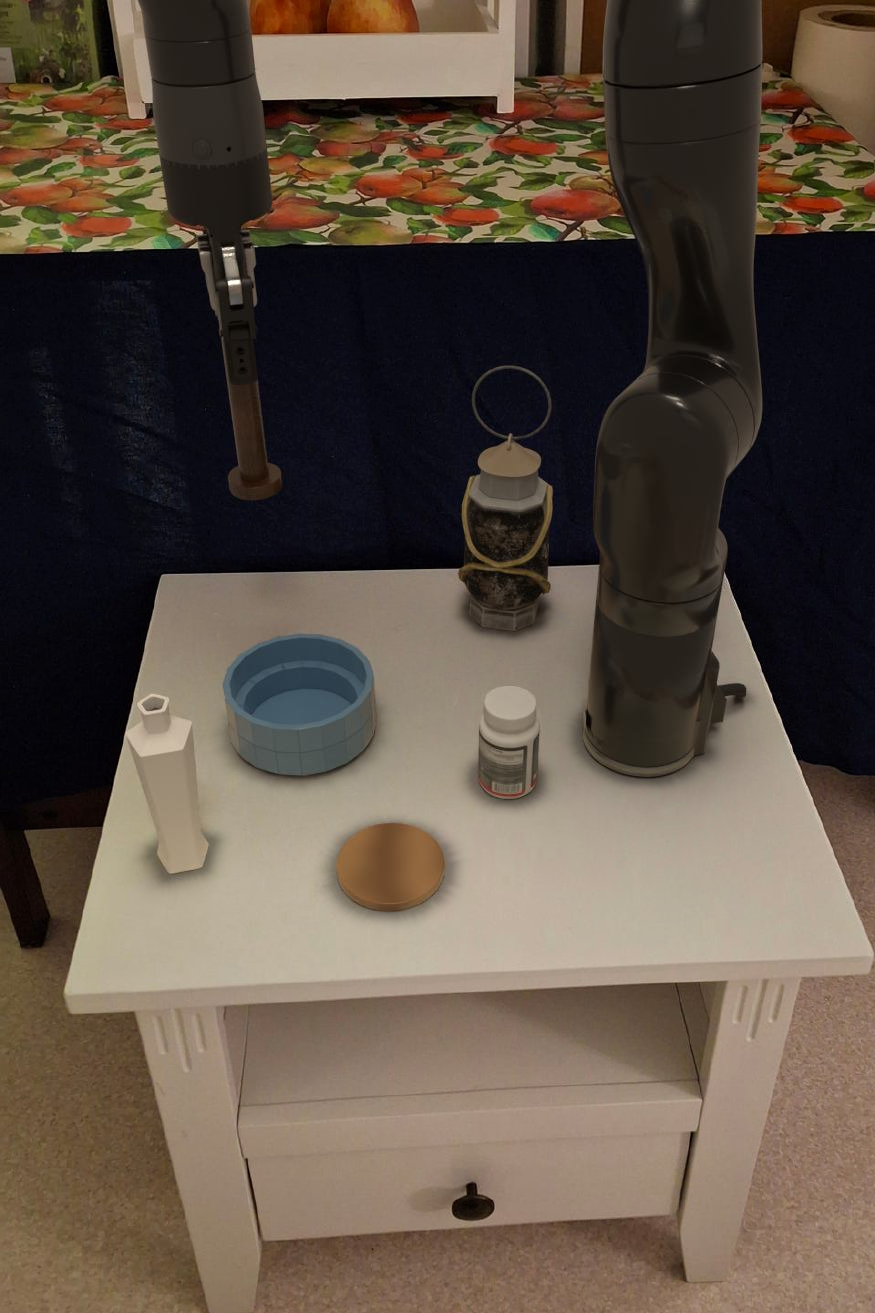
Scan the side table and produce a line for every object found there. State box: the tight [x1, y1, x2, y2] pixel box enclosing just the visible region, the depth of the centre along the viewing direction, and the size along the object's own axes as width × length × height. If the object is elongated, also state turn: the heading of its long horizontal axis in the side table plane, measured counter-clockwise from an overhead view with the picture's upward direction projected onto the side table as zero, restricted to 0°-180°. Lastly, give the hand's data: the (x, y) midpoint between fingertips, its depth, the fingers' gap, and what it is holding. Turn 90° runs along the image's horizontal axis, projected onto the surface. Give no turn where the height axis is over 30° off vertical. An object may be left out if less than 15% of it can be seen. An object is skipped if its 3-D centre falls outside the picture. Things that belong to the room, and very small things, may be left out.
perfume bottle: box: [124, 693, 210, 874], centre depth 87 cm, size 5×4×15 cm
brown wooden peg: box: [217, 314, 283, 501], centre depth 98 cm, size 4×4×15 cm
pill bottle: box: [477, 685, 541, 800], centre depth 95 cm, size 5×5×8 cm
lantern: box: [457, 365, 554, 632], centre depth 108 cm, size 9×8×25 cm
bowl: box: [222, 632, 377, 776], centre depth 101 cm, size 12×12×6 cm
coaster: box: [335, 822, 446, 912], centre depth 90 cm, size 8×8×1 cm
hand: (241, 372), depth 96 cm, fingers closed on brown wooden peg, 2 cm apart
